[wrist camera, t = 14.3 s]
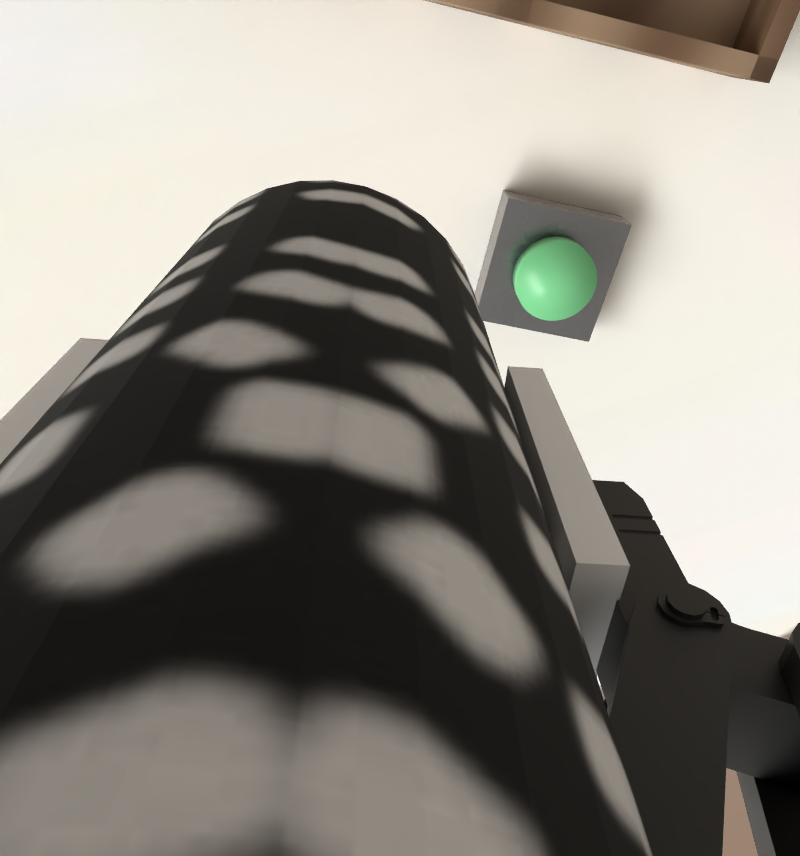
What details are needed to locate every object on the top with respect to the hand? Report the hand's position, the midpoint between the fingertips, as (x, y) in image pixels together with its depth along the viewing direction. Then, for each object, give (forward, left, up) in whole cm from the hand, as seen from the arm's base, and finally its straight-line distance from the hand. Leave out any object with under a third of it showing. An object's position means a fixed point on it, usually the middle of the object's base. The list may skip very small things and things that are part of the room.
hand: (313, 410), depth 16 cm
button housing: (+12, -2, -28) cm, 30 cm away
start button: (+12, -2, -27) cm, 29 cm away
